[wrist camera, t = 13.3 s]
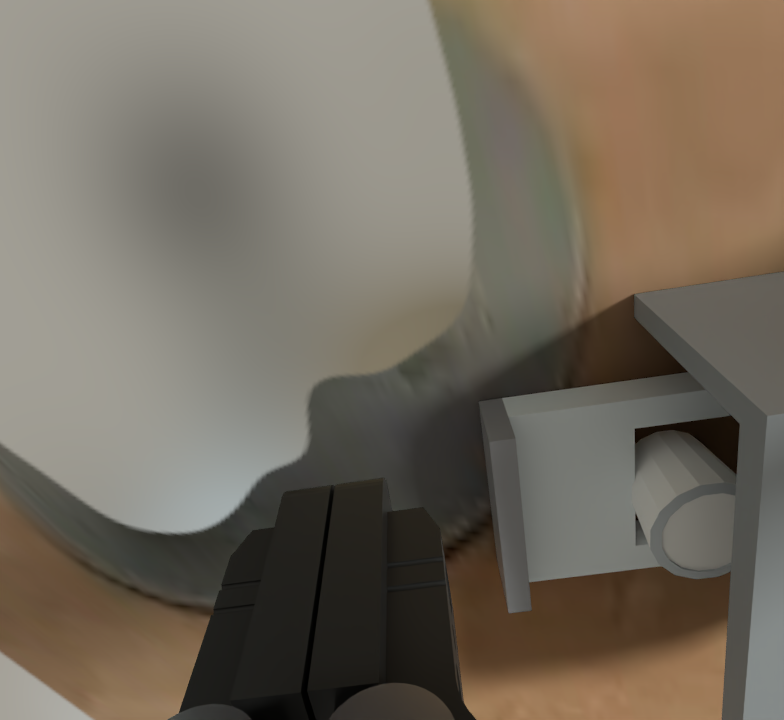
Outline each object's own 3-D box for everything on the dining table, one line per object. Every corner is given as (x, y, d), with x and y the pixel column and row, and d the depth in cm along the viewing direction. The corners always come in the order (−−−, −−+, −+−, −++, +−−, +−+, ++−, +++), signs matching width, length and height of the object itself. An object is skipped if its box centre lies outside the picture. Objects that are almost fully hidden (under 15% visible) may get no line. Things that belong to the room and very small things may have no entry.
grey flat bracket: (791, 357, 40) (843, 394, 36) (775, 526, 46) (818, 576, 41) (478, 401, 42) (489, 441, 37) (497, 560, 47) (508, 613, 42)
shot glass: (676, 521, 45) (723, 595, 39) (592, 487, 44) (626, 556, 38) (737, 445, 43) (798, 510, 37) (650, 405, 42) (697, 466, 35)
